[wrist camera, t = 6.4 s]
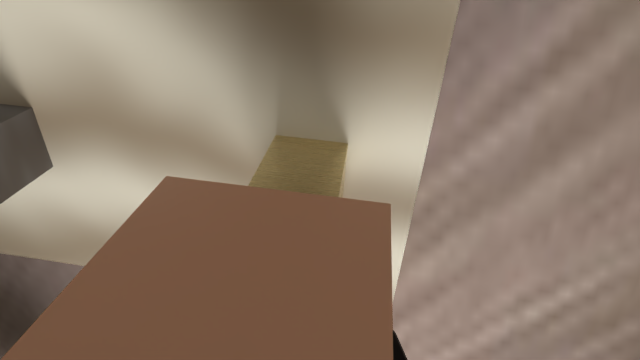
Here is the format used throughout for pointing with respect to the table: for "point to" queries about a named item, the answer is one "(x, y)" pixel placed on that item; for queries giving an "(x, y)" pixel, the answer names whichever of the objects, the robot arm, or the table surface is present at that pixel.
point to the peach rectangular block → (229, 281)
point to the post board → (204, 104)
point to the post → (303, 166)
